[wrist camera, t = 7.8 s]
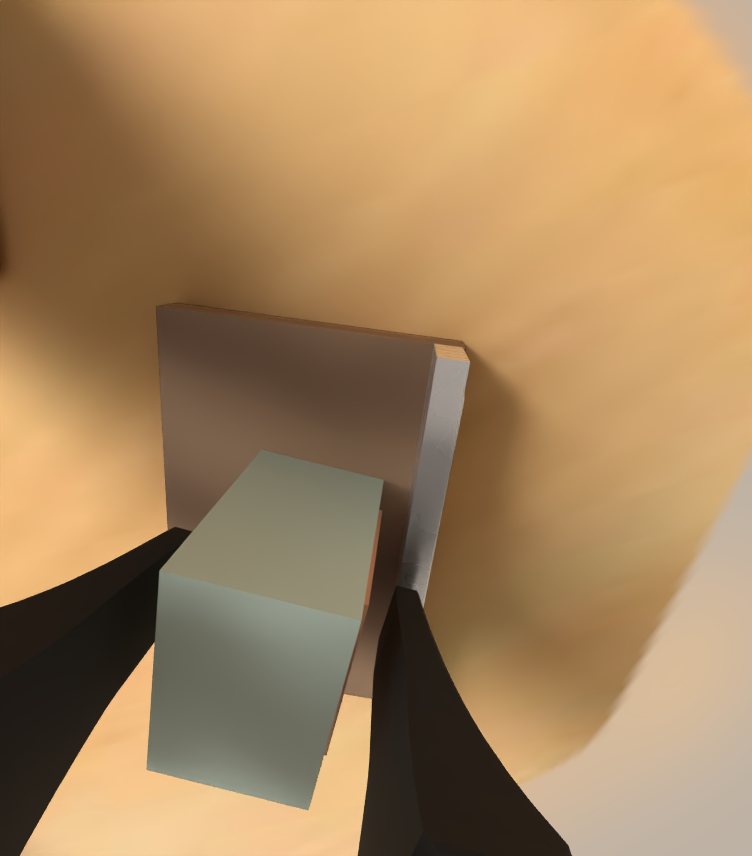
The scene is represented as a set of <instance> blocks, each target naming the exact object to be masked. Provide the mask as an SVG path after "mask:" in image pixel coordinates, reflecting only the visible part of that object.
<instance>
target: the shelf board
mask: <svg viewBox="0 0 752 856" xmlns="http://www.w3.org/2000/svg"><path fill="white" fill-rule="evenodd" d="M156 316H157V335H158V354H159V373H160V392H161V411H162V429H163V448H164V467H165V486H166V505H167V524H168V530H170V529H171V528H173V527H178V528H182V529H186V530H190V531H193V530H194V529H195V528H196V527H197V526H198V525H199V523H200V522H201V521H202V520H203V519H204V517H205V516H206V515H207V514H208V513H209V512H210V510H211V509H212V508H213V507H214V506H215V504H216V503H217V502H218V501H219V500H220V499H221V497H222V496H223V495H224V494H225V493H226V491H227V490H228V489H229V488H230V487H231V486H232V484H233V483H234V482H235V481H236V480H237V478H238V477H239V476H240V475H241V474H242V473H243V471H244V470H245V469H246V468H247V467H248V465H249V464H250V463H251V462H252V461H253V460H254V458H255V457H256V456H257V455H258V454H259V452H260V451H261V450H265V451H269V452H273V453H277V454H281V455H285V456H289V457H293V458H297V459H301V460H305V461H309V462H313V463H317V464H321V465H325V466H329V467H333V468H337V469H341V470H345V471H350V472H354V473H358V474H362V475H366V476H370V477H374V478H378V479H382V480H384V482H383V488H382V495H381V501H380V507H379V510H382V517H381V524H380V531H379V538H378V545H377V552H376V559H375V566H374V573H373V579H372V586H371V593H370V600H369V606H368V610H367V613H366V617H365V620H364V624H363V628H362V631H361V635H360V638H359V642H358V645H357V649H356V652H355V656H354V659H353V663H352V666H351V670H350V674H349V677H348V681H347V684H346V688H345V691H344V694H347V695H353V696H359V697H365V698H371V699H372V691H373V673H374V666H375V659H376V652H377V646H378V640H379V636H380V633H381V630H382V627H383V624H384V621H385V618H386V615H387V612H388V608H389V605H390V602H391V599H392V596H393V591H394V585H395V579H396V572H397V566H398V560H399V554H400V548H401V542H402V536H403V530H404V524H405V518H406V512H407V506H408V500H409V494H410V488H411V482H412V475H413V469H414V463H415V457H416V451H417V445H418V439H419V433H420V427H421V421H422V415H423V409H424V403H425V397H426V391H427V385H428V378H429V372H430V366H431V360H432V354H433V348H434V344H440V345H448V346H455V347H463V349H464V351H466V347H465V345H464V344H463V342H462V341H457V340H450V339H442V338H435V337H427V336H420V335H412V334H405V333H397V332H390V331H382V330H375V329H368V328H360V327H353V326H345V325H338V324H330V323H323V322H315V321H308V320H300V319H293V318H285V317H278V316H271V315H263V314H256V313H248V312H241V311H233V310H226V309H218V308H211V307H203V306H196V305H188V304H181V303H173V304H167V305H161V306H156Z"/></svg>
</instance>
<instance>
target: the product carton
mask: <svg viewBox="0 0 752 856" xmlns="http://www.w3.org/2000/svg"><path fill="white" fill-rule="evenodd" d="M383 482H384V480H382V479H378V478H374V477H370V476H366V475H362V474H358V473H354V472H350V471H345V470H341V469H337V468H333V467H329V466H325V465H321V464H317V463H313V462H309V461H305V460H301V459H297V458H293V457H289V456H285V455H281V454H277V453H273V452H269V451H265V450H261V451H260V452H259V454H258V455H257V456H256V457H255V458H254V460H253V461H252V462H251V463H250V464H249V465H248V467H247V468H246V469H245V470H244V471H243V473H242V474H241V475H240V476H239V477H238V478H237V480H236V481H235V482H234V483H233V484H232V486H231V487H230V488H229V489H228V490H227V491H226V493H225V494H224V495H223V496H222V497H221V499H220V500H219V501H218V502H217V503H216V504H215V506H214V507H213V508H212V509H211V510H210V512H209V513H208V514H207V515H206V516H205V517H204V519H203V520H202V521H201V522H200V523H199V525H198V526H197V527H196V528H195V529H194V530H193V532H192V533H191V534H190V535H189V536H188V538H187V539H186V540H185V541H184V542H183V543H182V545H181V546H180V547H179V548H178V549H177V551H176V552H175V553H174V554H173V555H172V556H171V558H170V559H169V560H168V561H167V562H166V563H165V565H164V566H163V567H162V568H161V569H160V571H159V586H158V601H157V617H156V632H155V647H154V663H153V678H152V694H151V709H150V724H149V740H148V755H147V770H149V771H153V772H157V773H161V774H165V775H169V776H173V777H177V778H181V779H185V780H189V781H193V782H197V783H201V784H205V785H209V786H213V787H217V788H221V789H225V790H229V791H233V792H237V793H241V794H245V795H249V796H253V797H257V798H261V799H265V800H269V801H273V802H277V803H281V804H285V805H289V806H293V807H297V808H301V809H305V810H309V807H310V803H311V799H312V796H313V792H314V789H315V785H316V782H317V778H318V774H319V771H320V767H321V764H322V760H323V756H324V755H327V751H328V748H329V744H330V741H331V737H332V734H333V730H334V727H335V723H336V720H337V716H338V713H339V709H340V705H341V702H342V698H343V695H344V691H345V688H346V684H347V681H348V677H349V674H350V670H351V666H352V663H353V659H354V656H355V652H356V649H357V645H358V642H359V638H360V635H361V631H362V628H363V624H364V620H365V617H366V613H367V610H368V606H369V600H370V593H371V586H372V579H373V573H374V566H375V559H376V552H377V545H378V538H379V531H380V524H381V517H382V510H379V507H380V501H381V495H382V488H383Z"/></svg>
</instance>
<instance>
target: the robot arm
mask: <svg viewBox="0 0 752 856" xmlns="http://www.w3.org/2000/svg"><path fill="white" fill-rule="evenodd" d="M192 532H193V531H190V530H186V529H182V528H178V527H173V528H171V529H170V530H168V531H166V532H164V533H162V534H160V535H158V536H157V537H155V538H153V539H151V540H149V541H147V542H146V543H144V544H142V545H140V546H138V547H137V548H135V549H133V550H131V551H129V552H127V553H125V554H123V555H122V556H120V557H118V558H116V559H114V560H112V561H110V562H108V563H106V564H104V565H102V566H100V567H98V568H96V569H94V570H92V571H90V572H87V573H85V574H83V575H81V576H79V577H77V578H75V579H73V580H71V581H68V582H66V583H64V584H61V585H59V586H57V587H54V588H52V589H49V590H47V591H44V592H42V593H39V594H37V595H34V596H31V597H29V598H26V599H24V600H21V601H18V602H15V603H12V604H9V605H6V606H3V607H0V856H20V854H21V852H22V850H23V849H24V847H25V845H26V843H27V841H28V840H29V838H30V836H31V834H32V833H33V831H34V829H35V827H36V826H37V824H38V822H39V820H40V819H41V817H42V815H43V813H44V811H45V810H46V808H47V806H48V804H49V803H50V801H51V799H52V797H53V796H54V794H55V792H56V790H57V789H58V787H59V785H60V784H61V782H62V780H63V779H64V777H65V775H66V773H67V772H68V770H69V768H70V767H71V765H72V763H73V762H74V760H75V758H76V757H77V755H78V753H79V752H80V750H81V748H82V747H83V745H84V743H85V742H86V740H87V738H88V737H89V735H90V734H91V732H92V730H93V729H94V727H95V725H96V724H97V722H98V721H99V719H100V717H101V716H102V714H103V712H104V711H105V709H106V708H107V706H108V705H109V703H110V702H111V700H112V699H113V698H114V696H115V695H116V693H117V692H118V690H119V689H120V688H121V686H122V685H123V684H124V682H125V681H126V680H127V678H128V677H129V676H130V674H131V673H132V672H133V670H134V669H135V668H136V666H137V665H138V663H139V662H140V661H141V659H142V658H143V657H144V655H145V654H146V653H147V651H148V650H149V649H150V647H151V646H152V645H153V643H154V642H155V632H156V617H157V601H158V586H159V571H160V569H161V568H162V567H163V566H164V565H165V563H166V562H167V561H168V560H169V559H170V558H171V556H172V555H173V554H174V553H175V552H176V551H177V549H178V548H179V547H180V546H181V545H182V543H183V542H184V541H185V540H186V539H187V538H188V536H189V535H190V534H191V533H192ZM358 856H572V855H571V852H570V849H569V846H568V844H566V842H565V841H564V840H563V839H562V838H561V836H560V835H559V834H558V833H557V832H556V831H555V829H554V828H553V827H552V826H551V825H550V824H549V823H548V821H547V820H546V819H545V818H544V817H543V816H542V814H541V813H540V812H539V811H538V810H537V809H536V807H535V806H534V805H533V804H532V803H531V802H530V800H529V799H528V798H527V796H526V795H525V794H524V793H523V791H522V790H521V789H520V787H519V786H518V785H517V783H516V782H515V781H514V780H513V778H512V777H511V776H510V774H509V773H508V772H507V770H506V769H505V767H504V766H503V764H502V763H501V762H500V760H499V759H498V757H497V756H496V754H495V753H494V751H493V750H492V748H491V747H490V745H489V744H488V743H487V741H486V740H485V738H484V737H483V735H482V733H481V732H480V730H479V728H478V727H477V725H476V723H475V722H474V720H473V718H472V717H471V715H470V713H469V711H468V710H467V708H466V706H465V704H464V703H463V701H462V699H461V697H460V695H459V693H458V691H457V689H456V687H455V685H454V683H453V681H452V679H451V677H450V675H449V673H448V671H447V668H446V666H445V664H444V662H443V659H442V657H441V655H440V652H439V650H438V647H437V645H436V642H435V640H434V637H433V635H432V632H431V630H430V627H429V624H428V621H427V618H426V615H425V612H424V609H423V606H422V603H421V599H420V596H419V594H418V592H417V591H416V590H413V589H409V588H405V587H401V586H397V585H396V587H395V590H394V593H393V596H392V599H391V602H390V605H389V608H388V612H387V615H386V618H385V621H384V624H383V627H382V630H381V633H380V636H379V640H378V646H377V652H376V659H375V666H374V673H373V691H372V713H371V737H370V759H369V772H368V782H367V790H366V798H365V806H364V813H363V821H362V829H361V836H360V843H359V851H358Z"/></svg>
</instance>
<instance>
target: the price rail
mask: <svg viewBox="0 0 752 856" xmlns="http://www.w3.org/2000/svg"><path fill="white" fill-rule="evenodd" d="M469 366H470V360H469V359H468V357H467V355H466V353H465V351H464V349H463V347H455V346H448V345H440V344H434V348H433V354H432V360H431V366H430V372H429V378H428V385H427V391H426V397H425V403H424V409H423V415H422V421H421V427H420V433H419V439H418V445H417V451H416V457H415V463H414V469H413V475H412V482H411V488H410V494H409V500H408V506H407V512H406V518H405V524H404V530H403V536H402V542H401V548H400V554H399V560H398V566H397V572H396V579H395V585H394V590H395V587H396V585H397V586H401V587H405V588H409V589H413V590H416V591H417V592H418V594H419V596H420V599H421V603H422V606H423V608H424V603H425V597H426V592H427V587H428V582H429V577H430V572H431V567H432V562H433V557H434V552H435V547H436V542H437V537H438V532H439V527H440V522H441V517H442V511H443V506H444V501H445V496H446V491H447V486H448V481H449V476H450V471H451V466H452V461H453V456H454V451H455V446H456V441H457V436H458V431H459V425H460V420H461V415H462V410H463V405H464V400H465V396H464V392H465V387H466V382H467V376H468V371H469ZM393 593H394V591H393Z"/></svg>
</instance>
